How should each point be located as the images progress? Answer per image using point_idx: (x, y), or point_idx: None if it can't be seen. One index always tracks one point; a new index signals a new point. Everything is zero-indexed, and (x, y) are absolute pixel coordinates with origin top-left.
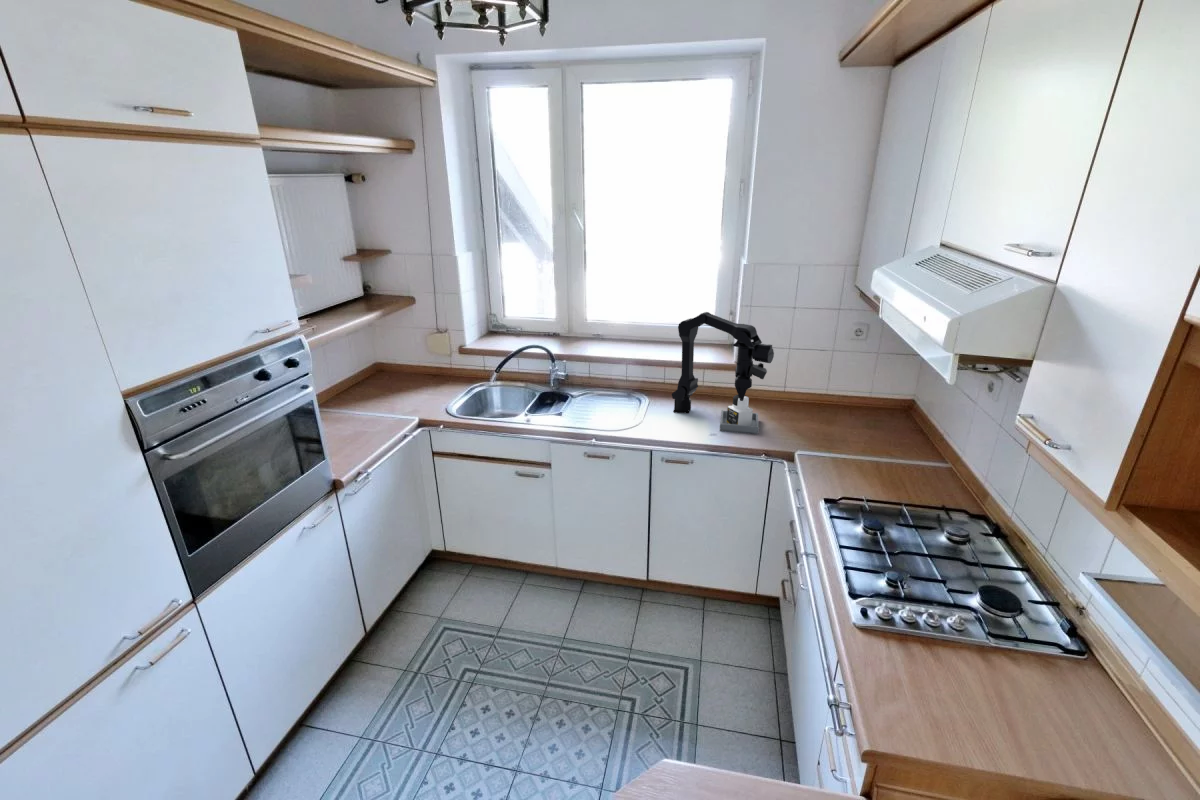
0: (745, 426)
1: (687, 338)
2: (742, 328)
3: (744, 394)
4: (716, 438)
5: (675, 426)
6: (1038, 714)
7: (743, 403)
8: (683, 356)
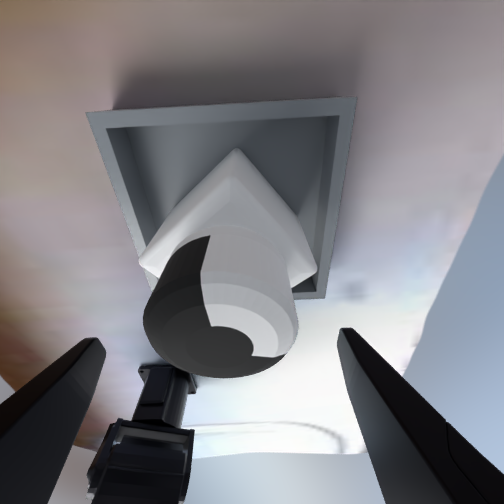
0: (341, 187)
1: None
2: None
3: (436, 415)
4: (390, 279)
5: (298, 375)
6: None
7: (290, 287)
8: None
